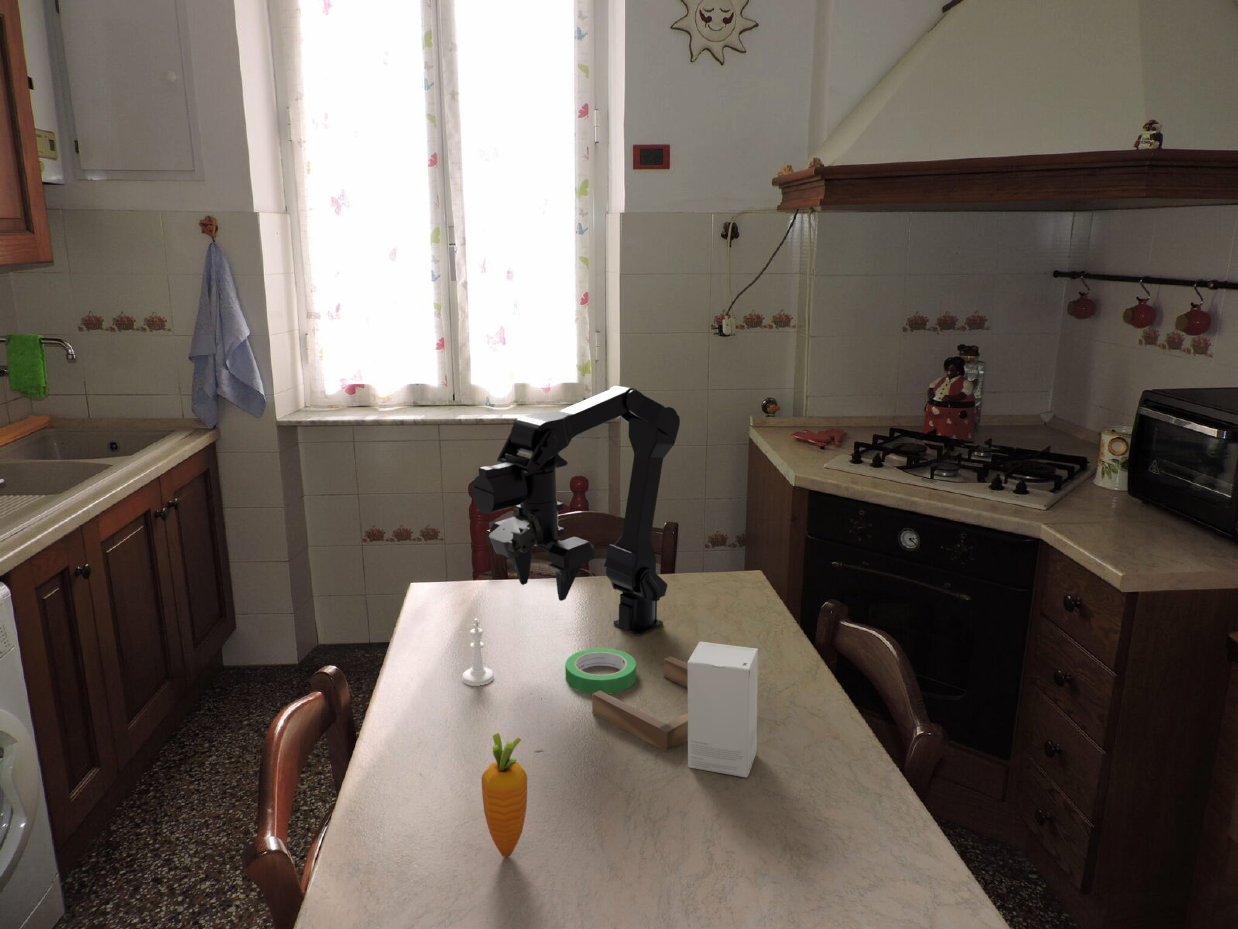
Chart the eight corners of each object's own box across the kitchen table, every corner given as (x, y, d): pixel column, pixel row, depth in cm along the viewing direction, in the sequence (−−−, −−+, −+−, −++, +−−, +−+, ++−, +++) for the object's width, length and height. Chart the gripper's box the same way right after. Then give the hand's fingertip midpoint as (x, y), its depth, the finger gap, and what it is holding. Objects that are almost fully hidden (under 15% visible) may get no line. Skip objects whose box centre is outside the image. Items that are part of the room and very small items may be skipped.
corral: (670, 673, 145) (670, 656, 144) (743, 707, 135) (744, 688, 134) (592, 712, 133) (592, 694, 133) (666, 752, 123) (667, 732, 123)
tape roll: (587, 656, 151) (587, 641, 151) (647, 671, 146) (648, 656, 146) (552, 685, 142) (551, 669, 141) (615, 702, 137) (615, 686, 136)
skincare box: (757, 754, 123) (762, 647, 119) (747, 781, 117) (752, 670, 113) (696, 742, 126) (699, 638, 122) (683, 769, 120) (686, 659, 116)
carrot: (485, 843, 105) (481, 726, 101) (529, 841, 105) (526, 724, 102) (482, 873, 100) (478, 751, 96) (528, 871, 101) (526, 749, 97)
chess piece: (497, 671, 145) (495, 613, 143) (490, 687, 141) (488, 626, 138) (466, 670, 146) (464, 611, 143) (458, 685, 141) (455, 625, 138)
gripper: (459, 498, 142) (465, 591, 146) (538, 525, 129) (543, 626, 134) (515, 481, 150) (520, 571, 154) (595, 506, 137) (597, 602, 141)
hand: (542, 591), depth 145 cm, fingers open, 9 cm apart
